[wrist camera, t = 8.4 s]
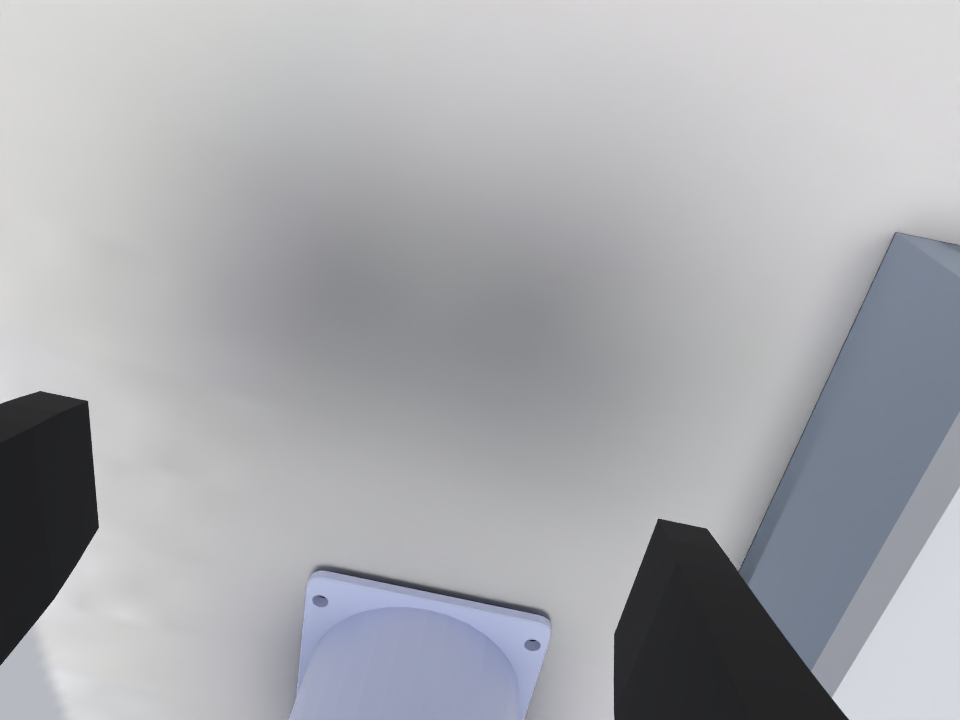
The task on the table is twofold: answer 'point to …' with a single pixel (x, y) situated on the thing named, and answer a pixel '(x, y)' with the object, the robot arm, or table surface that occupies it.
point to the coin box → (878, 504)
